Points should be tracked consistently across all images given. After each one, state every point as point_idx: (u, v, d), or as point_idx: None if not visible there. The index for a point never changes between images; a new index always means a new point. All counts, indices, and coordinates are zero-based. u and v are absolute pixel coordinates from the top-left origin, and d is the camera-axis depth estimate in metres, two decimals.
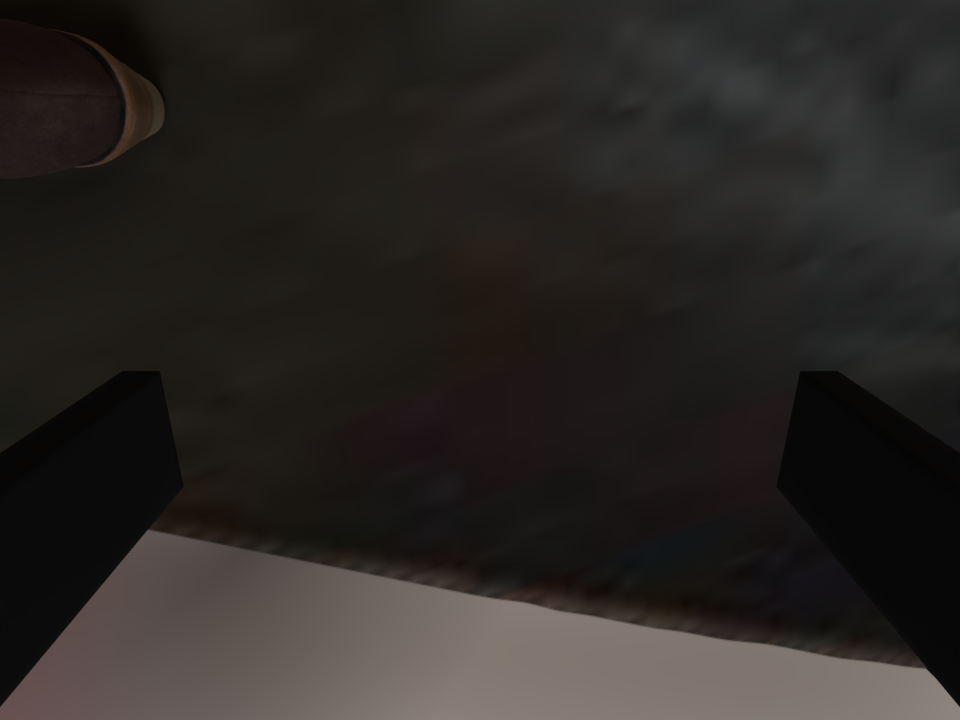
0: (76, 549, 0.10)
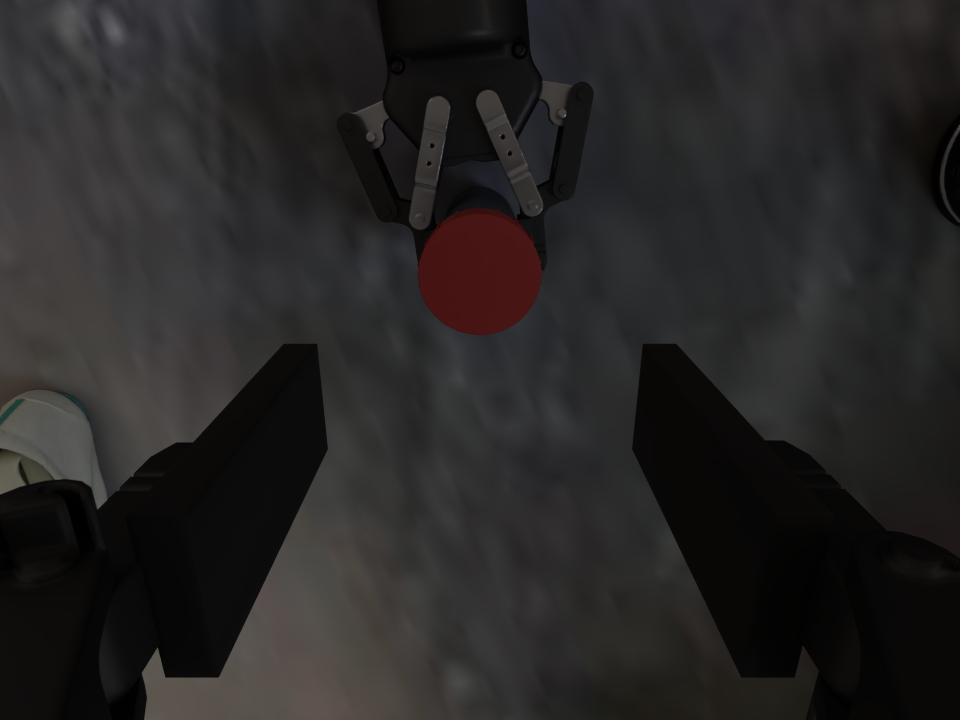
0: (280, 491, 0.11)
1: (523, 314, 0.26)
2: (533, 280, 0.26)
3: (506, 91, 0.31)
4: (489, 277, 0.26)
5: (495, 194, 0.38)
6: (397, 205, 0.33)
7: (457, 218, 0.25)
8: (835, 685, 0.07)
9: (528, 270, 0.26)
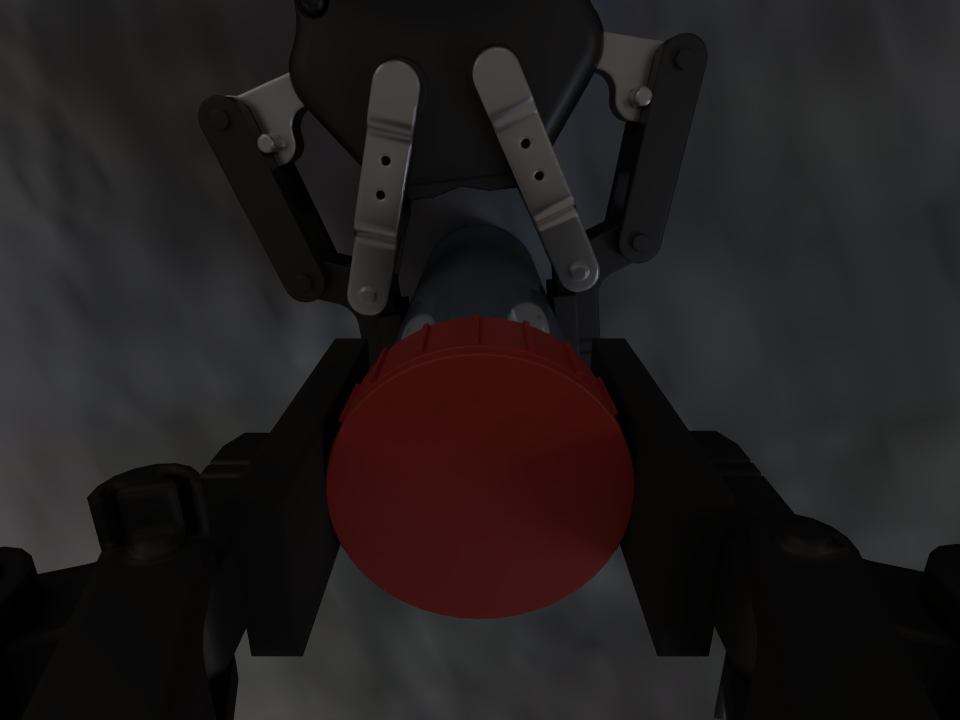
0: None
1: (586, 578, 0.11)
2: (615, 507, 0.10)
3: (533, 52, 0.15)
4: (504, 501, 0.10)
5: (506, 239, 0.22)
6: (326, 270, 0.18)
7: (420, 364, 0.09)
8: (739, 665, 0.08)
9: (603, 485, 0.10)
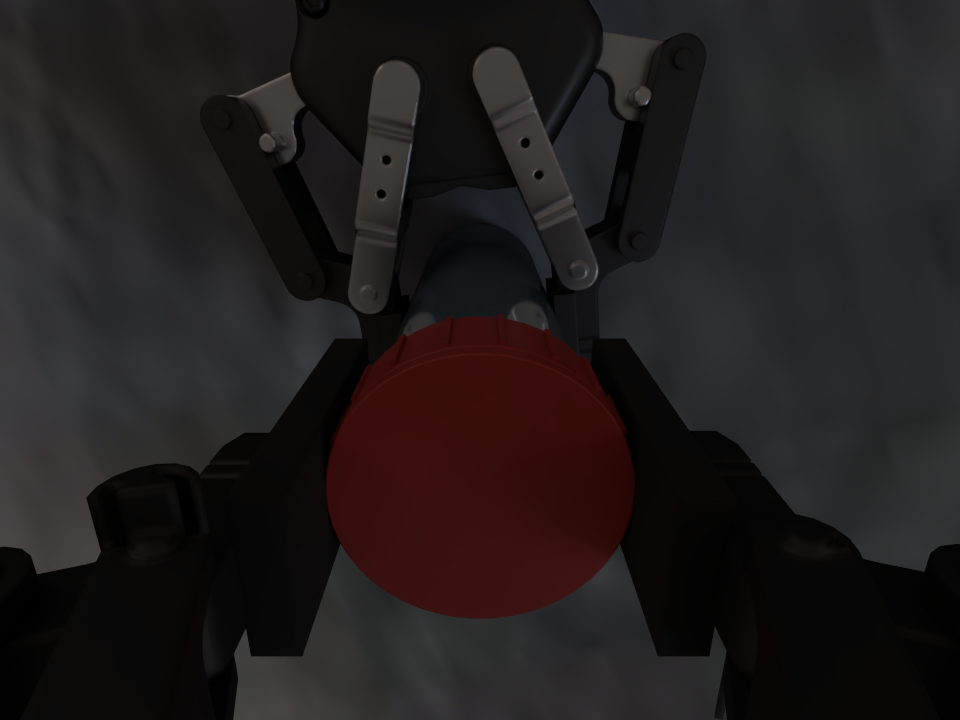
0: None
1: (538, 368, 0.09)
2: (438, 378, 0.09)
3: (533, 52, 0.16)
4: (473, 478, 0.10)
5: (506, 238, 0.22)
6: (327, 269, 0.18)
7: (372, 577, 0.11)
8: (740, 665, 0.08)
9: (418, 399, 0.10)
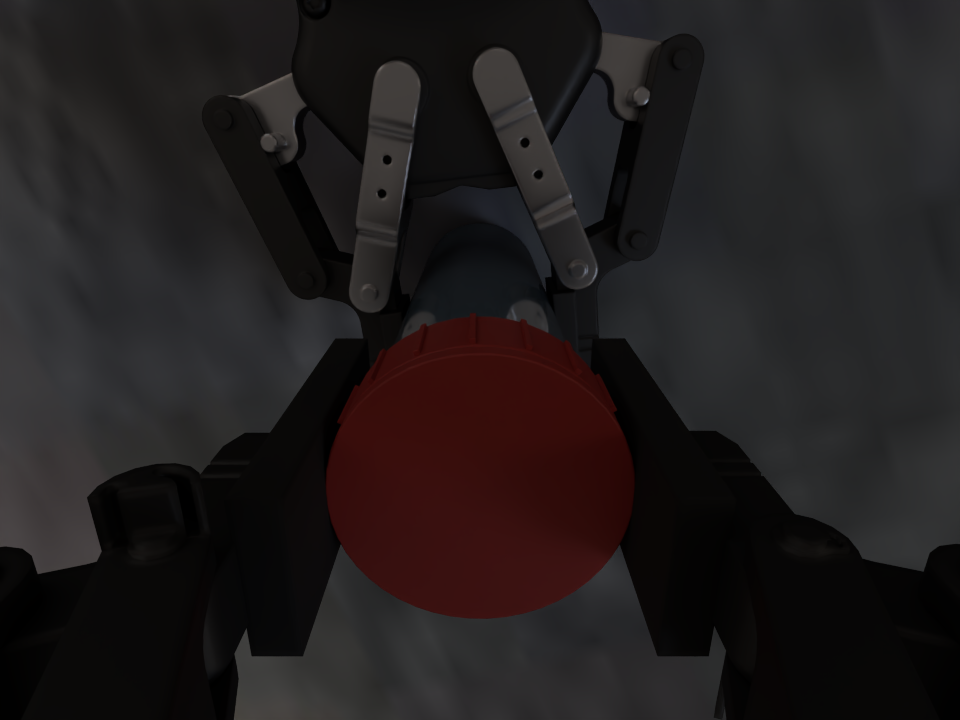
0: None
1: (329, 497, 0.10)
2: (376, 565, 0.11)
3: (532, 52, 0.16)
4: (460, 510, 0.10)
5: (506, 238, 0.22)
6: (328, 268, 0.18)
7: (609, 555, 0.11)
8: (739, 665, 0.08)
9: (402, 572, 0.11)
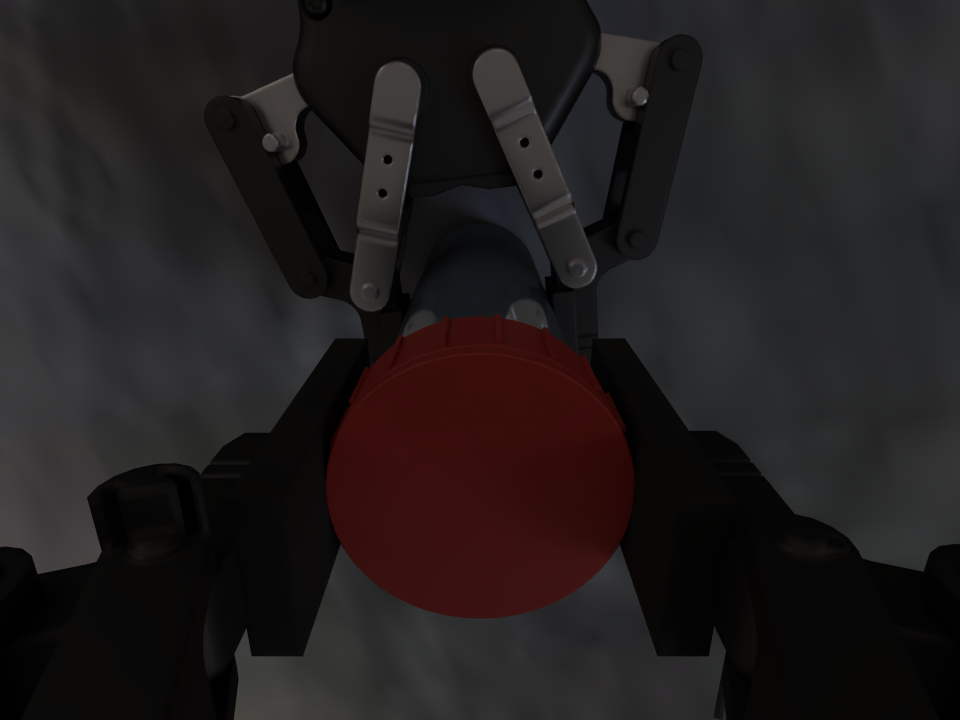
0: None
1: (528, 608, 0.11)
2: (590, 558, 0.11)
3: (532, 53, 0.16)
4: (500, 509, 0.10)
5: (506, 237, 0.22)
6: (329, 267, 0.18)
7: (502, 354, 0.09)
8: (739, 664, 0.08)
9: (592, 534, 0.10)
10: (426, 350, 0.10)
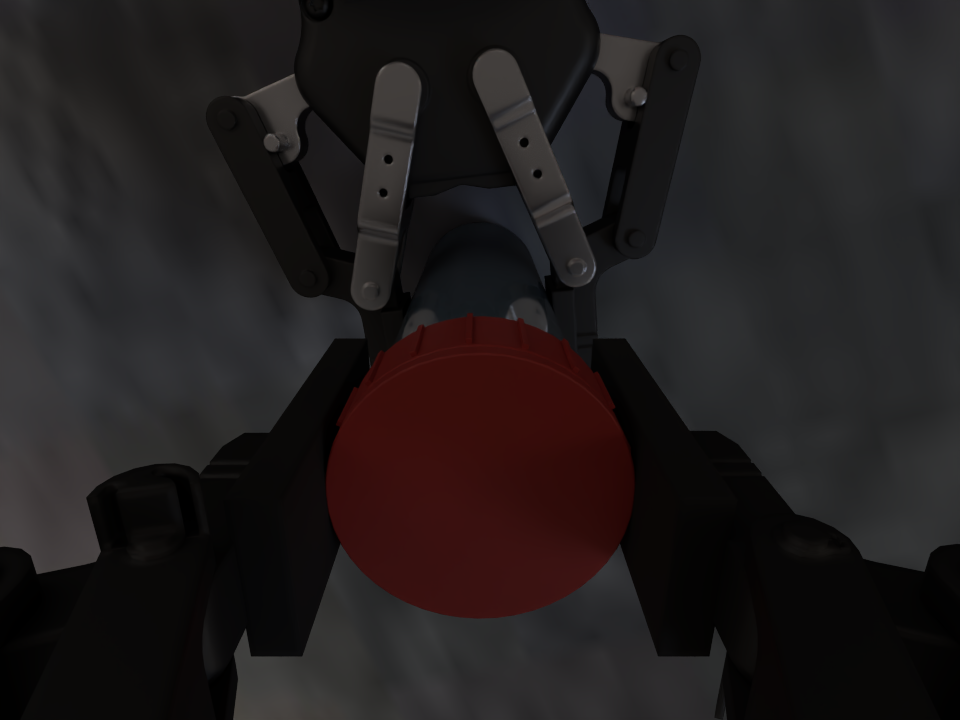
0: None
1: (600, 409, 0.10)
2: (510, 375, 0.09)
3: (531, 53, 0.16)
4: (485, 477, 0.10)
5: (506, 236, 0.22)
6: (330, 266, 0.18)
7: (334, 525, 0.10)
8: (740, 665, 0.08)
9: (481, 385, 0.09)
10: None
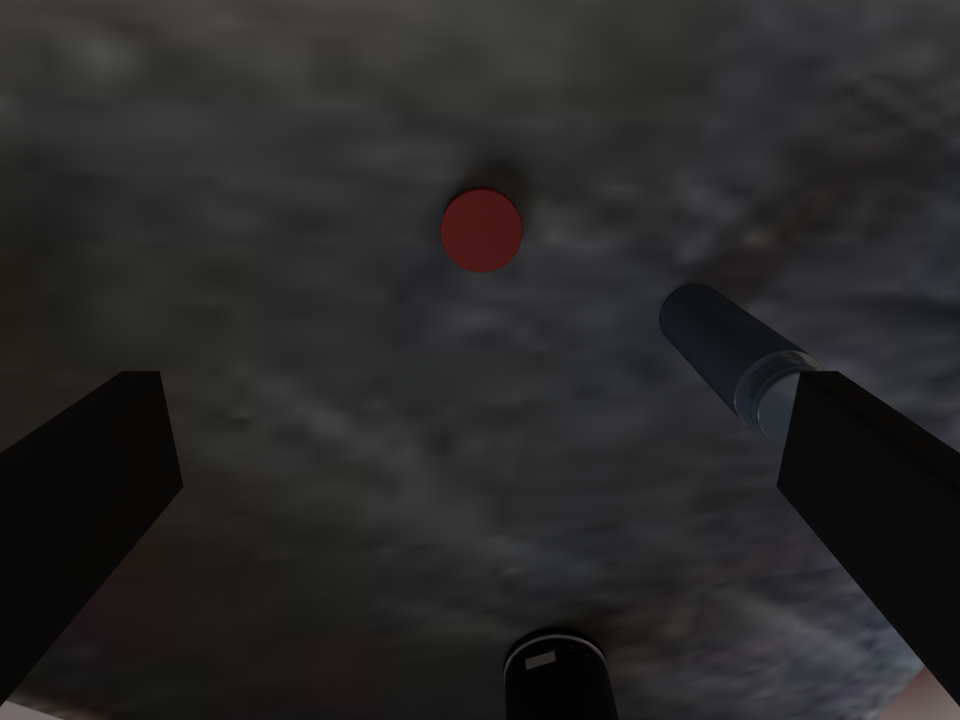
0: (76, 549, 0.10)
1: (511, 205, 0.38)
2: (488, 196, 0.38)
3: None
4: (482, 225, 0.39)
5: None
6: None
7: (442, 241, 0.39)
8: None
9: (481, 198, 0.38)
10: None
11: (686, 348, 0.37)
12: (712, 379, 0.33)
